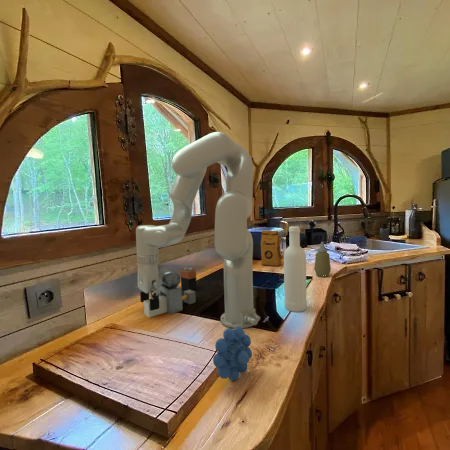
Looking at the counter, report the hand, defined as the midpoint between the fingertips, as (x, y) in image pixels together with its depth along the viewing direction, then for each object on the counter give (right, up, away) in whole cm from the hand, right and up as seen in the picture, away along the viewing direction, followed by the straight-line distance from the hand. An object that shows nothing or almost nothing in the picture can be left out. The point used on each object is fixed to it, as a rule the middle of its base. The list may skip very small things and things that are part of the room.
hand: (149, 305), depth 97 cm
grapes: (+30, -5, -39) cm, 50 cm away
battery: (+11, -1, +27) cm, 29 cm away
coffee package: (+57, +4, +70) cm, 91 cm away
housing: (+7, -2, +5) cm, 8 cm away
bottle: (+54, -1, 0) cm, 54 cm away
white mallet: (+7, -2, +4) cm, 9 cm away
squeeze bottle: (+79, +3, +42) cm, 89 cm away
